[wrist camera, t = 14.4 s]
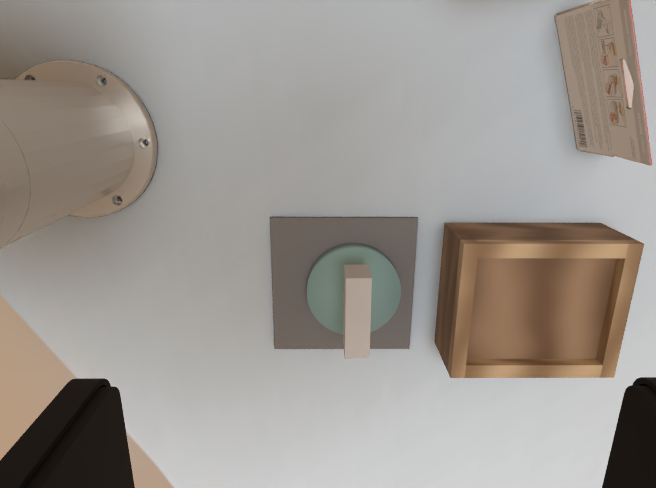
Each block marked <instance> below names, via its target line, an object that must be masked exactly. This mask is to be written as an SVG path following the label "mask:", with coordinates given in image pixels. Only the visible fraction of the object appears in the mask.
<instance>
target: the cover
mask: <svg viewBox="0 0 656 488" xmlns="http://www.w3.org/2000/svg"><path fill="white" fill-rule="evenodd" d="M400 298H401V284H400V280H399V277H398V274H397V272H396V269H395V267H394V265H393V264H392V262H391V261H390V259H389V258H388V257H387V256H386V255H385V254H384V253H382V252H381V251H379V250H378V249H376V248H374V247H372V246H369V245H366V244H360V243H347V244H342V245H339V246H336V247H333V248H331V249H329V250H328V251H326V252H325V253H324V254H322V255H321V256H320V257H319V258H318V259H317V260H316V262H315V263H314V265H313V266H312V268H311V270H310V273H309V276H308V282H307V301H308V305H309V307H310V310H311V312H312V314H313V315H314V317H315V318H316V319H317V320H318V321H319V322H320V323H321V324H322V325H323V326H324V327H326V328H328V329H329V330H331V331H333V332H336V333H339V334H343V343H344V355H345V358H369V356H370V332H373V331H375V330H377V329H379V328H380V327H382V326H383V325H384V324H386V323H387V322H388V321H389V320H390V319H391V318H392V316H393V315H394V313H395V312H396V310H397V308H398V305H399V302H400Z"/></svg>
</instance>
